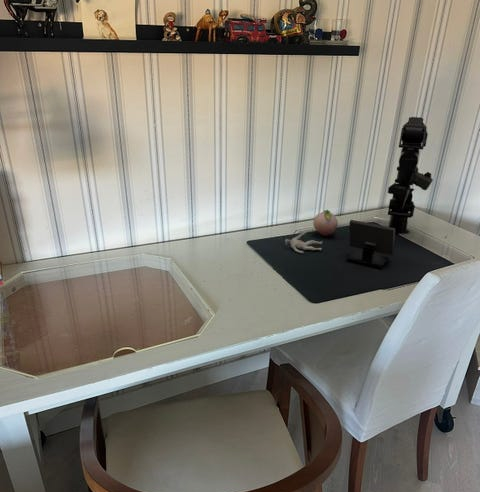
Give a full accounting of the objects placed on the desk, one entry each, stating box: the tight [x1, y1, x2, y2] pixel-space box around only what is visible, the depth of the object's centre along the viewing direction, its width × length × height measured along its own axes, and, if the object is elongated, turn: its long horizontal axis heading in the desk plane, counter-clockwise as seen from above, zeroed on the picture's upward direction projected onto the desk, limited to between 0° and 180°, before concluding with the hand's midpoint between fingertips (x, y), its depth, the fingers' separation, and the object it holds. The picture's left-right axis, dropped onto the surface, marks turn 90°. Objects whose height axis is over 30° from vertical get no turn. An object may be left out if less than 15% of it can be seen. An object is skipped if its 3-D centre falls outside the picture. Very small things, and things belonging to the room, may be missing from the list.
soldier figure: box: [284, 231, 323, 254], centre depth 165 cm, size 8×5×12 cm
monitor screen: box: [349, 219, 396, 256], centre depth 154 cm, size 2×14×10 cm, turn 60°
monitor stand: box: [346, 245, 390, 270], centre depth 157 cm, size 8×11×5 cm
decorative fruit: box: [313, 209, 339, 237], centre depth 176 cm, size 9×8×10 cm
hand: (400, 209), depth 169 cm, fingers closed
